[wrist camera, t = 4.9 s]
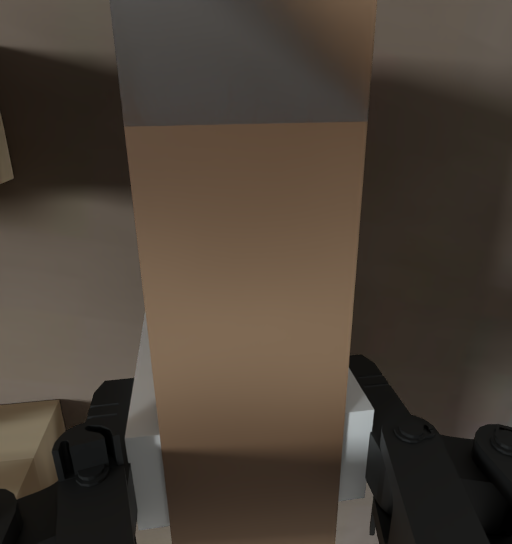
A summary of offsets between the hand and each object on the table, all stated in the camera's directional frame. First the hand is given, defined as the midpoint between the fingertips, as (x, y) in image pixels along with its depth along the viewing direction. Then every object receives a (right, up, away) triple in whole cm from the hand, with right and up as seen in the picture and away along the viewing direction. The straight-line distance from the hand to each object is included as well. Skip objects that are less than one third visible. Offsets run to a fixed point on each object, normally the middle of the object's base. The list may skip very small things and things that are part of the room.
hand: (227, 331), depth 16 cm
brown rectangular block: (0, 0, 0) cm, 0 cm away
